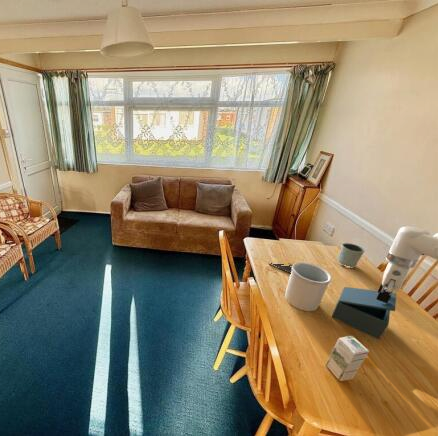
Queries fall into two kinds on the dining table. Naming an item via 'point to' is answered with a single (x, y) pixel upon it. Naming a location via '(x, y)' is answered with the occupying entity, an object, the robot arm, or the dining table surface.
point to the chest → (363, 318)
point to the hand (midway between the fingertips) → (382, 296)
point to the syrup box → (346, 358)
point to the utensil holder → (306, 286)
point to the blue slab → (366, 298)
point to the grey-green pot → (350, 254)
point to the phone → (284, 267)
